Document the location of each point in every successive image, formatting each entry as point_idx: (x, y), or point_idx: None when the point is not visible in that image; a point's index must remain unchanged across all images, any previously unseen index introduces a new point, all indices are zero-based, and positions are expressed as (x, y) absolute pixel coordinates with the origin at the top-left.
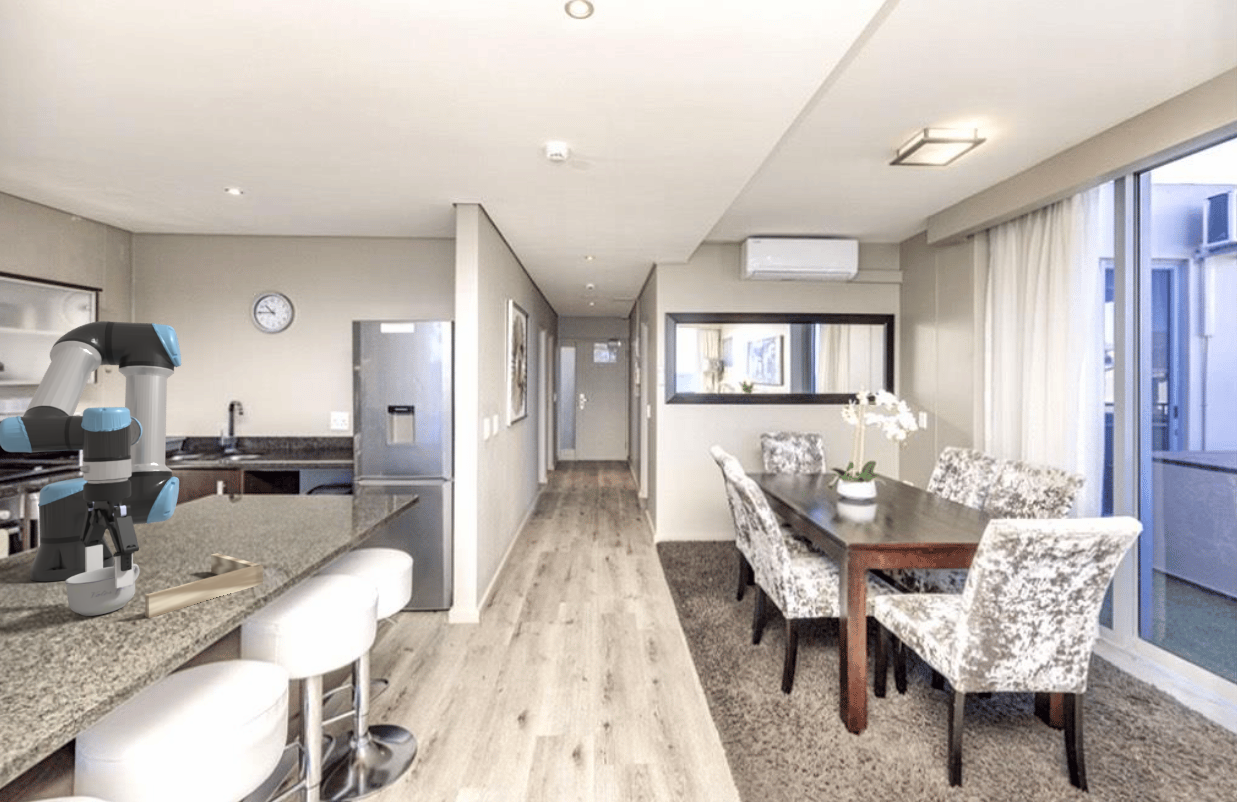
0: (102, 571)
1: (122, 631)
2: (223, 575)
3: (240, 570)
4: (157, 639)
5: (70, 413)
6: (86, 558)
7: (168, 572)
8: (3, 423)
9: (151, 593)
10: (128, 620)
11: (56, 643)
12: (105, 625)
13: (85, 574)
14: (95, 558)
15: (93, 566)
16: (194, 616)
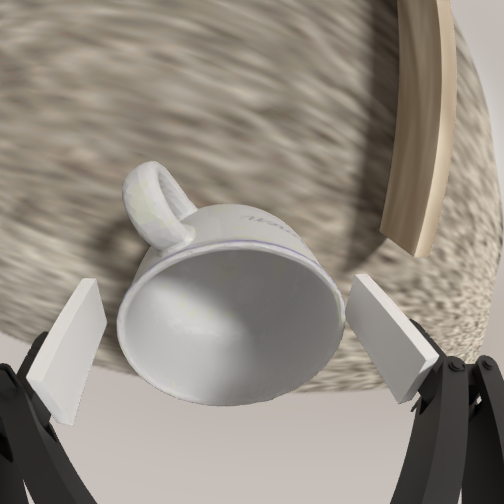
0: (129, 307)
1: (401, 287)
2: (453, 52)
3: (445, 5)
4: (465, 267)
5: None
6: (83, 383)
7: (18, 28)
8: None
9: (420, 243)
10: (363, 260)
11: (341, 358)
12: (343, 296)
13: (134, 352)
14: (77, 354)
15: (90, 334)
16: (457, 182)
